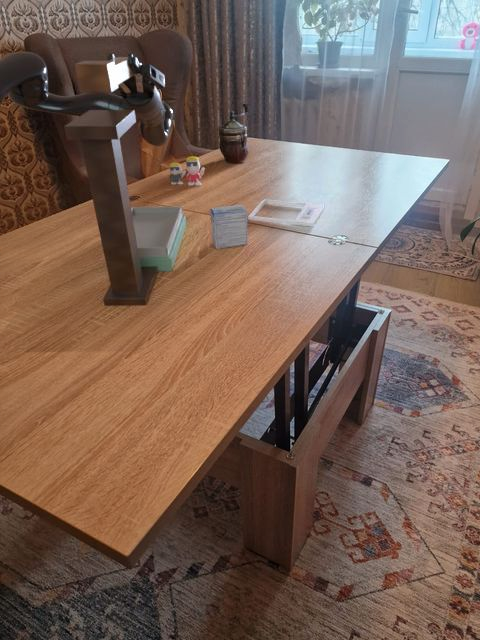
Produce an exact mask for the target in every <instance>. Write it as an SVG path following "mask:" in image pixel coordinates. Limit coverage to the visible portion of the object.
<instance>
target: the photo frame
mask: <svg viewBox="0 0 480 640" xmlns="http://www.w3.org/2000/svg"><path fill="white" fill-rule="evenodd" d="M266 204H267V205H269V204H270V205H280V206H289V207H290V206H291V207H298V208H302V209H301V210H300V212H299V213H298V215H297V216H296V218H295V219H294V220H293V219H286V218H285V219H284V218H276V217H268V216H267V217H266V216H257V215H256V214H258V212H259V211H260V210H261V209H262V208H263V207H264V206H265V205H266ZM325 209H326V205H325V204H317V203H307V202H296V201H288V200H287V201H285V200H277V199H268V198H267V199H266V198H263V200H262V201H261V202H260V203H259V204H258V205H257V206H256V207H255V208H254V209H253V210H252V212H250V213H249V214H248V215H247V221H256V222H265V223H274V224H284V225H293V226H303V227H311V228H314V227H315V225H316V224H317V222H318V220H319V219H320V217H321V215H322V214H323V212H324V211H325Z"/></svg>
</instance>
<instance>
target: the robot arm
mask: <svg viewBox="0 0 480 640" xmlns="http://www.w3.org/2000/svg"><path fill="white" fill-rule="evenodd" d="M127 57H128V59H129V66H130V68H131V70H132V72H133V74H135V75H133V76H132V77H130V78H128V79H127V80H125V81H124V82H122V83H120V84H119V85H118V87H119V88H118V89H116V90H117V91H118V92H119V93H120V95H121V96H120V95H117V94H114V93H79V94H75V95H69V96H68V95H67V96H62V95H58V94H54V93H51V92H49V74H48V73H49V72H48V68H47V63H46V62H45V60H44V59H43V58H42V57H41V56H40V55H39V54H36V53H34V52H32V51H15V52H12V53H9V54H7V55H5V56H2V57H1V58H0V106H1V105H2V103H3V102H4V100H5V99H6V97H7V96H8V98H9V99H10V100H11V101H12V103H14V104H16V105H18V106H20V107H23V108H26V109H29V110H35V111H41V112H46V113H53V114H59V115H65V116H66V115H67V116H73V117H80V116H81V115H83V114H84V113H86V112H87V111H89V110H134V111H135V118H137V124H138V125H137V126H138V129H139V133H140V135H141V137H142V139H143V140H144V141H145V142H147V144H149V145H151V146H154V147H162V146H164V145H165V144H167V143H168V142H169V139H170V135H171V134H170V133H171V128H172V124H173V119H174V110H173V109H172V107H171V106H170V105H169V104H167V102H165V101H162V98H161V95H160V91H159V90H158V88H159V89H161V90H162V89H165V88H166V82H165V81H166V80H165V79H166V78H165V77H166V76H165V74H164V73H163V72H162V71H160V70H159V69H157V68H156V67H154V66H153V65H152V64H150V63H145V64H144V65H143V64H142V62H140V61H139V60H138V57H137V56H134V55H133V53H127ZM114 58H116V56H115V54H114V53H108V56H107V57H106V61H109V60H112V59H114ZM131 128H132V126H131V127H130V128H129V129H131Z"/></svg>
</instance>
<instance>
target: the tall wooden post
mask: <svg viewBox="0 0 480 640" xmlns="http://www.w3.org/2000/svg"><path fill="white" fill-rule="evenodd" d="M136 118H137V117H136ZM136 118H135V111H134V110H89V111H87V112H86V113H84V114H83V115H81V116H80V117H79V116H77V118H75V119H73V120H72V121H70V122H68V123H67V124H66V125H65V124H64V127H63V128H64V131H65V135H66V140H67V141H79V142H80V146H81V151H82V155H83V161H84V166H85V170H86V174H87V179H88V184H89V189H90V194H91V198H92V204H93V209H94V213H95V218H96V222H97V226H98V231H99V236H100V241H101V245H102V246H101V247H102V250H103V255H104V260H106V261H105V265H107V266H106V270H108V271H107V274H108V279H109V284H110V285H109V287H108V289H107V291H106V293H105V295H104V296H103V299H102V300H103V304H104V306H106V307H107V306H147V303H148V300H149V298H150V296H151V292H152V290H153V287H154V284H155V281H156V279H157V276H158V273H159V271H158V270H157V266H149V267H141V265H140V259H139V253H138V247H137V241H136V235H135V229H134V223H133V217H132V211H131V208H132V206H131V199H130V195H129V194H130V193H129V187H128V182H127V181H128V180H127V175H126V169H125V164H124V158H123V152H122V146H121V140H120V138H122V137H123V136H124V135H125V133H126V132H127V131H128V130H129V129H131V128H132V127H133V126H134V125H135V124H136V123H137V119H136ZM130 127H131V128H130Z"/></svg>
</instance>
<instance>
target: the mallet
mask: <svg viewBox="0 0 480 640" xmlns="http://www.w3.org/2000/svg"><path fill="white" fill-rule="evenodd" d="M74 67H75V72H76V77H77V83H78V87H79V92H80V94H83V93H111V94H113V93H114V92H115V91H116V90H117V89H118V88H119V87H118V85H119V84H120V83H122V82H124V81H125V80H127V79H128V78H130V77H132V76H133V75H135V74H133V72H132V70H131V68H130V66H129V59H128V56H117V57H115V58H114V59H112V60H109V61H107V60H82V61H80V62H77V63H75V64H74Z"/></svg>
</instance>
